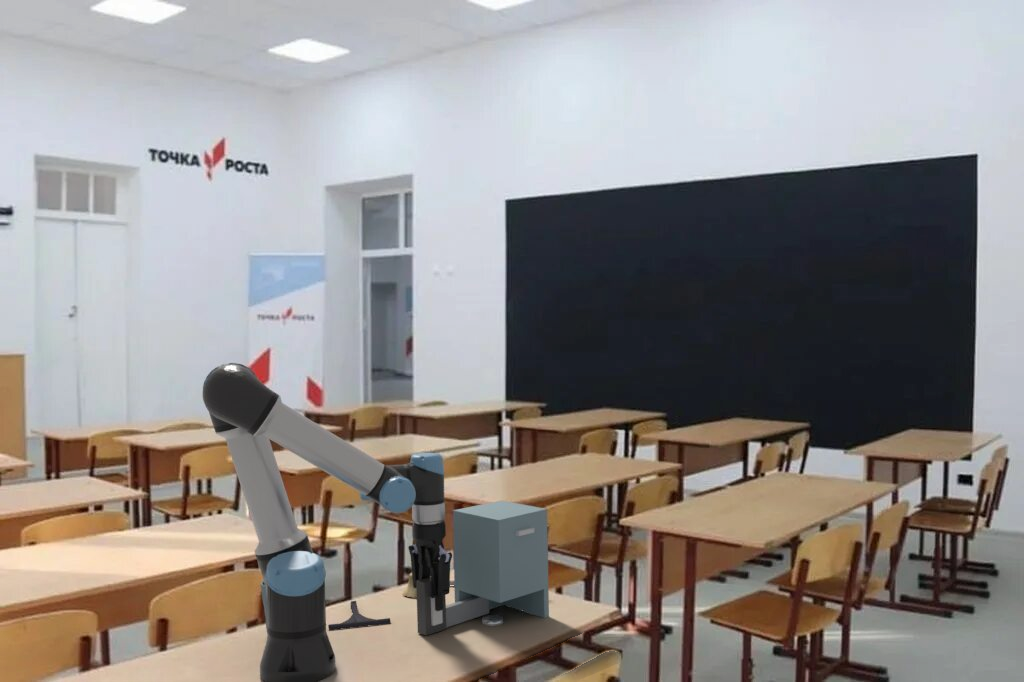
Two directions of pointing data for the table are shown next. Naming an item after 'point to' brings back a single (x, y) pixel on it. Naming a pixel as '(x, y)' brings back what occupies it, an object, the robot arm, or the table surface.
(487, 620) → the steel token
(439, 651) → the table surface
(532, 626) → the table surface
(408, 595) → the hand bell
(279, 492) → the robot arm
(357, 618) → the dark squeegee
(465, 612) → the grey l-bracket
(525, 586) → the cabinet
